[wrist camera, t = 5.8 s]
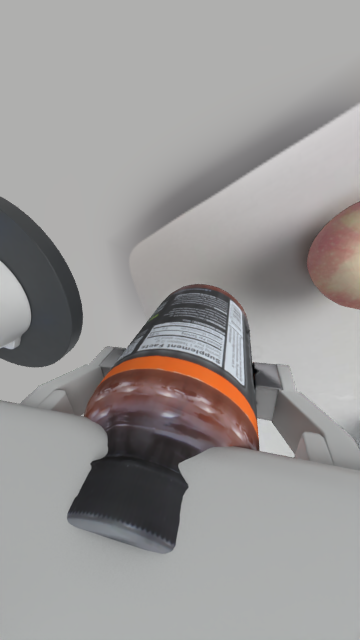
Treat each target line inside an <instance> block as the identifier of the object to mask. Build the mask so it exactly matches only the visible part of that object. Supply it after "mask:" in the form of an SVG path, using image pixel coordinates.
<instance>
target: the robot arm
mask: <svg viewBox="0 0 360 640" xmlns="http://www.w3.org/2000/svg"><path fill="white" fill-rule="evenodd" d="M30 323H31V309H30V305H29V302H28V299H27V296H26V294H25V292H24V290H23V288H22V286H21V285H20V283H19V282H18V280H17V279H16V277H15V276H14V275H13V274H12V272H11V271H10V270H9V269H8V268H7V267H6V266H5V265H4V264H3V263H2V262H1V261H0V348H2V347H5V348H8V349H14V348H16V347H18V346H19V345H20V341H21V336H22V334H23V333H25V332H26V331H27V330H28V328H29V326H30ZM125 350H126V348H118V347H110V346H107V347H105V348H104V349H103V350H102V351H101V352H100V353H99V354H98V355H97V357H96V358H95V359H94V360H93V361H92V362H91V363H90V364H89V365H84V366H82V367H80V368H78V369H75V370H73V371H71V372H69V373H66V374H64V375H62V376H60V377H58V378H55V379H53V380H51V381H49V382H47V383H44V384H42V385H40V386H39V387H37V388H36V389H35V390H34V391H33V392H32V393H31V394H30V395H29V396H28V397H26V398H25V399H24V400H23V401H22V402H21V403H20V404H17V403H12V402H7V401H1V400H0V640H360V449H359V447H358V445H357V443H356V441H355V439H354V438H353V437H352V436H351V435H349V434H348V433H347V432H346V431H345V430H344V429H343V428H341V427H340V426H339V425H338V424H337V423H336V422H334V421H333V420H332V419H331V418H330V417H329V416H328V415H326V414H325V413H324V412H323V411H322V410H321V409H320V408H318V407H317V406H316V405H315V404H314V403H313V402H311V401H310V400H309V399H308V398H307V397H306V396H305V395H303V394H302V393H300V392H297V389H296V386H295V382H294V379H293V376H292V373H291V369H290V366H289V365H281V364H267V363H257V362H253V365H252V366H253V379H254V388H255V397H256V407H257V418H259V419H265V420H270V421H272V423H273V424H274V426H275V427H276V428H277V430H278V431H279V433H280V434H281V435H282V437H283V438H284V440H285V441H286V443H287V444H288V445H289V447H290V448H291V450H292V451H293V452H294V454H295V457H294V458H292V457H287V456H282V455H277V454H272V453H267V452H262V451H257V450H252V449H247V448H241V447H235V446H231V447H213V448H209V449H207V450H206V451H204V452H202V453H200V454H198V455H196V456H194V457H192V458H189V459H187V460H185V461H183V462H181V463H179V465H178V467H179V470H180V472H181V474H182V476H183V478H184V479H185V481H186V482H187V484H188V486H189V487H188V489H187V490H186V492H185V494H184V495H183V500H182V503H181V511H180V523H179V528H178V533H177V539H176V546H175V547H174V549H173V551H171V552H169V553H166V554H161V553H156V552H152V551H147V550H144V549H141V548H138V547H134V546H131V545H128V544H125V543H122V542H119V541H116V540H112V539H109V538H106V537H104V536H101V535H98V534H95V533H92V532H89V531H86V530H82V529H79V528H76V527H74V526H73V525H71V524H69V523H68V520H67V513H68V511H69V509H70V507H71V505H72V503H73V501H74V499H75V497H76V496H77V495H78V493H79V491H80V489H81V487H82V485H83V483H84V481H85V479H86V478H87V475H88V473H89V472H90V470H91V465H90V463H91V462H92V461H94V460H98V459H101V458H103V457H105V456H106V454H107V452H108V446H107V445H108V437H107V433H106V432H105V430H104V429H103V428H102V427H101V426H100V425H99V424H97V423H95V422H93V421H91V420H90V419H88V418H87V417H83V416H81V415H82V414H84V413H85V409H86V407H87V404H88V402H89V400H90V398H91V396H92V395H93V393H94V391H95V390H96V388H97V387H98V385H99V384H100V383H101V381H102V380H103V379H104V377H105V376H106V375H107V374H108V372H109V371H110V370H111V368H112V367H113V366H114V364H115V363H116V362H117V360H118V359H119V358H120V356H121V355H122V354H123V353H124V351H125Z"/></svg>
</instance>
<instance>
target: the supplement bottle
mask: <svg viewBox="0 0 360 640" xmlns="http://www.w3.org/2000/svg"><path fill="white" fill-rule="evenodd" d="M84 417H87V418H88V419H90V420H91V421H93V422H95V423H97V424H99V425H100V426H101V427H102V428H103V429H104V430H105V432H106V433H107V437H108V445H107V446H108V452H107V454H106V456H105V457H103V458H101V459H98V460H94V461H92V462H91V463H90V465H91V470H90V472H89V473H88V475H87V478H86V479H85V481H84V483H83V485H82V487H81V489H80V491H79V493H78V495H77V496H76V497H75V499H74V501H73V503H72V505H71V507H70V509H69V511H68V513H67V520H68V523H69V524H71V525H73V526H74V527H76V528H79V529H82V530H86V531H89V532H92V533H95V534H98V535H101V536H104V537H106V538H109V539H112V540H116V541H119V542H122V543H125V544H128V545H131V546H134V547H138V548H141V549H144V550H147V551H152V552H156V553H161V554H166V553H169V552H171V551H173V549H174V547H175V546H176V539H177V533H178V528H179V523H180V511H181V503H182V500H183V495H184V494H185V492H186V490H187V489H188V487H189V486H188V484H187V482H186V481H185V479H184V478H183V476H182V474H181V472H180V470H179V467H178V465H179V463H181V462H183V461H185V460H187V459H189V458H192V457H194V456H196V455H198V454H200V453H202V452H204V451H206V450H207V449H209V448H213V447H231V446H235V447H241V448H247V449H252V450H257V451H259V438H258V426H257V407H256V397H255V388H254V379H253V366H252V356H251V345H250V330H249V325H248V321H247V316H246V314H245V312H244V310H243V308H242V306H241V305H240V304H239V302H238V301H237V300H236V299H235V298H234V297H233V296H232V295H230V294H229V293H228V292H226V291H224V290H222V289H220V288H217V287H214V286H210V285H205V284H195V285H188V286H184V287H182V288H180V289H178V290H176V291H174V292H173V293H171V294H170V295H169V296H168V297H167V298H166V299H165V300H164V301H163V302H162V303H161V305H160V306H159V307H158V308H157V310H156V311H155V312H154V314H153V315H152V316H151V318H150V319H149V320H148V321H147V323H146V324H145V325H144V326H143V328H142V329H141V330H140V332H139V333H138V334H137V335H136V337H135V338H134V339H133V341H132V342H131V343H130V345H129V346H128V347H127V349H126V350H125V351H124V353H123V354H122V355H121V356H120V358H119V359H118V360H117V362H116V363H115V364H114V366H113V367H112V368H111V370H110V371H109V372H108V374H107V375H106V376H105V377H104V379H103V380H102V381H101V383H100V384H99V385H98V387H97V388H96V390H95V391H94V393H93V395H92V396H91V398H90V400H89V402H88V404H87V407H86V409H85V413H84Z"/></svg>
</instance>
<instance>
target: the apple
mask: <svg viewBox="0 0 360 640" xmlns="http://www.w3.org/2000/svg"><path fill="white" fill-rule="evenodd" d="M307 268H308V271H309V274H310V277H311V279H312V281H313V283H314V284H315V286H316V287H317V288H318V289H319V290H320V292H321V293H322V294H324V295H325V296H326V297H327V298H329V299H330V300H332V301H334V302H335V303H337V304H339V305H342V306H345V307H350V308H355V309H360V202H358V203H356V204H354V205H352V206H350V207H348V208H347V209H345V210H344V211H342V212H341V213H339V214H338V215H337V216H335V217H334V218H333V219H332V220H331V221H330V222H328V223H327V224H326V225H325V227H324V228H323V229H322V230H321V231H320V232H319V234H318V235H317V236H316V238H315V239H314V241H313V243H312V245H311V247H310V250H309V253H308V258H307Z"/></svg>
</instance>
